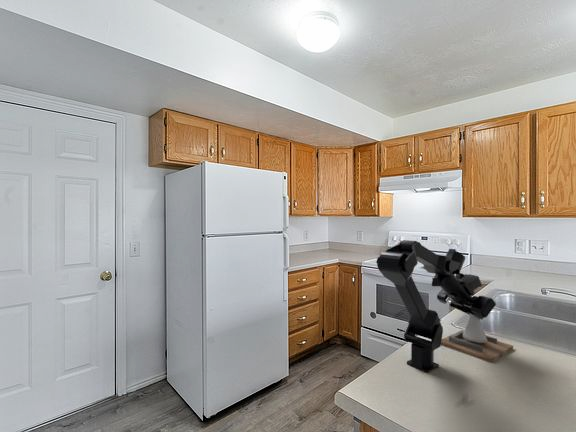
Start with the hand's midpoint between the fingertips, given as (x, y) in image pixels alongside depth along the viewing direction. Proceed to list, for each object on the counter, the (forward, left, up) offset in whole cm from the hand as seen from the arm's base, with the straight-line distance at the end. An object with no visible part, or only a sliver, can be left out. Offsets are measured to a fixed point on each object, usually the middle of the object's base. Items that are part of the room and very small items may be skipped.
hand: (478, 316), depth 100 cm
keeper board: (-1, 0, -10) cm, 10 cm away
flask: (-1, 0, -7) cm, 8 cm away
